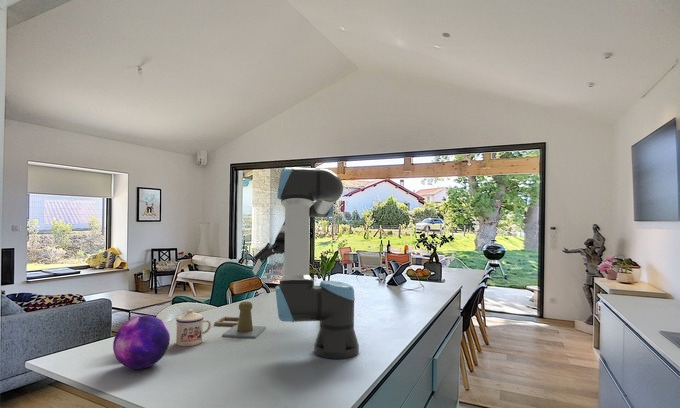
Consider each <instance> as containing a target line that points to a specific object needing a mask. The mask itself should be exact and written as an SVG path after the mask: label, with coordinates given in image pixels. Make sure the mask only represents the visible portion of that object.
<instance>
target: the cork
mask: <svg viewBox="0 0 680 408" xmlns="http://www.w3.org/2000/svg"><path fill="white" fill-rule="evenodd" d="M238 309H239V322H238V328H237V331H238V332H251V331H253V326H254V325H253V317H252V309H253V303H252V302H251V301H241V302H240V303H239V304H238Z"/></svg>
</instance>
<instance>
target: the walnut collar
mask: <svg viewBox="0 0 680 408" xmlns="http://www.w3.org/2000/svg"><path fill="white" fill-rule="evenodd" d="M224 321H225V322H224ZM226 321H232V322H226ZM233 321H236V322H233ZM238 322H239V317H237V316H236V317H235V316H223V317H221V318H219V319H217V320H216V321H215V322H214V325H213V326H214V327H215V326H218V327H233V326H235V325H238Z"/></svg>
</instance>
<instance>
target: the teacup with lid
mask: <svg viewBox="0 0 680 408" xmlns="http://www.w3.org/2000/svg"><path fill="white" fill-rule="evenodd" d="M186 311H187V312H185V313H183V314H181V315H179V316H177V317H176V319H175V321H176V334H175V335H176V336H175V339H176V340H175V341H176V342H175V344H176V345H177V346H179V347H193V346H197V345H199V344H201V343H202V342H203V335H205V334H207V333H209V332H210V329H211V328H212V323H211V321H210V320H208V319H204V315H202V314H200V313H197V312H194V310H193V308H192V309H187V310H186ZM203 323H208V326H207V329H205V330H204V331H203V326H204V325H203Z"/></svg>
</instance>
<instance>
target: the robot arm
mask: <svg viewBox="0 0 680 408" xmlns="http://www.w3.org/2000/svg"><path fill="white" fill-rule="evenodd" d="M277 187H278V188H277V196H276V197H277V199H278V200H280V204H281V205H282V206H283V208H284V221H283V223H282V225H281V228H280V229H279V231H278V234H277V235H276V237H275V239H274V243H272V244H271V243H270V242H267V243H266V245H265V246H264V247H263V248H262V249H261V250H259V252H257V253H256V254H255V255H254V256H253V258H254V260H255V262H254V264H253V268H252V273H253V275H255V276H256V275H257V274H258V272H259V270H260V268H261V266H262V264H263V261H265V260H267V259H268V258H269V257H271V256H273V255H277V254H280V255H282V254H284V259H283V260H284V261H283V262H284V263H283V265H282V267H281V269H280V272H279V273H280V275H281V277H282V278H280V280H279V285H276V286H275V287H274V289H275V290H274V291H275V297H276V298H275V299H276V307H277V316H278V319H279V320H280V321H281V322H286V323H294V322H295V323H297V322H300V323H301V322H319V330H318V333H317V335H316V339H315V341H314V344H313V346H314V347H313V348H314V349H313V350H314V353H315V355H316V356H319V357H321V358H326V359H332V360H342V359H343V360H344V359H349V358H352V357H355V356H357V355H358V354H359V352H360V346H359V340H358V338H357V334H356V331H355V300H356V298H355V289H354V287H353V286H352V285H351V284H349V283H345V282H341V281H336V280H321V281H320V283H319V285H315V281H314V279H313V278H312V276H311V275H310V218H313V217H314V218H332V217H333V215H334V203H335V202H337V201H338V200H339V199H340V198H341V196H342V194H343V192H344V184H343V181H342V180H341V178H340V176H338V174H336V173H335V172H333V171H332V170H330V169H327V168H321V167H319V168H316V167H295V166H293V167H291V166H290V167H283V168H282V169H281V171H280V174H279V181H278V186H277Z"/></svg>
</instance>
